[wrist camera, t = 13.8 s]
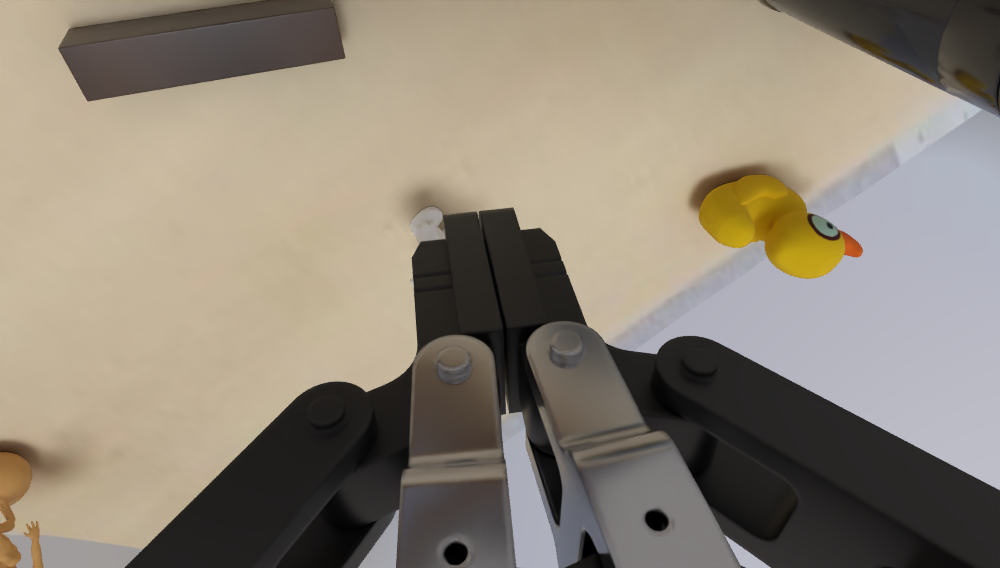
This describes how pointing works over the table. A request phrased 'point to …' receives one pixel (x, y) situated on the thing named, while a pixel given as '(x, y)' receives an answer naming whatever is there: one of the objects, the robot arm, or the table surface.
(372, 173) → the table surface
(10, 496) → the figurine
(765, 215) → the duckling
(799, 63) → the table surface
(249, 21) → the rail
